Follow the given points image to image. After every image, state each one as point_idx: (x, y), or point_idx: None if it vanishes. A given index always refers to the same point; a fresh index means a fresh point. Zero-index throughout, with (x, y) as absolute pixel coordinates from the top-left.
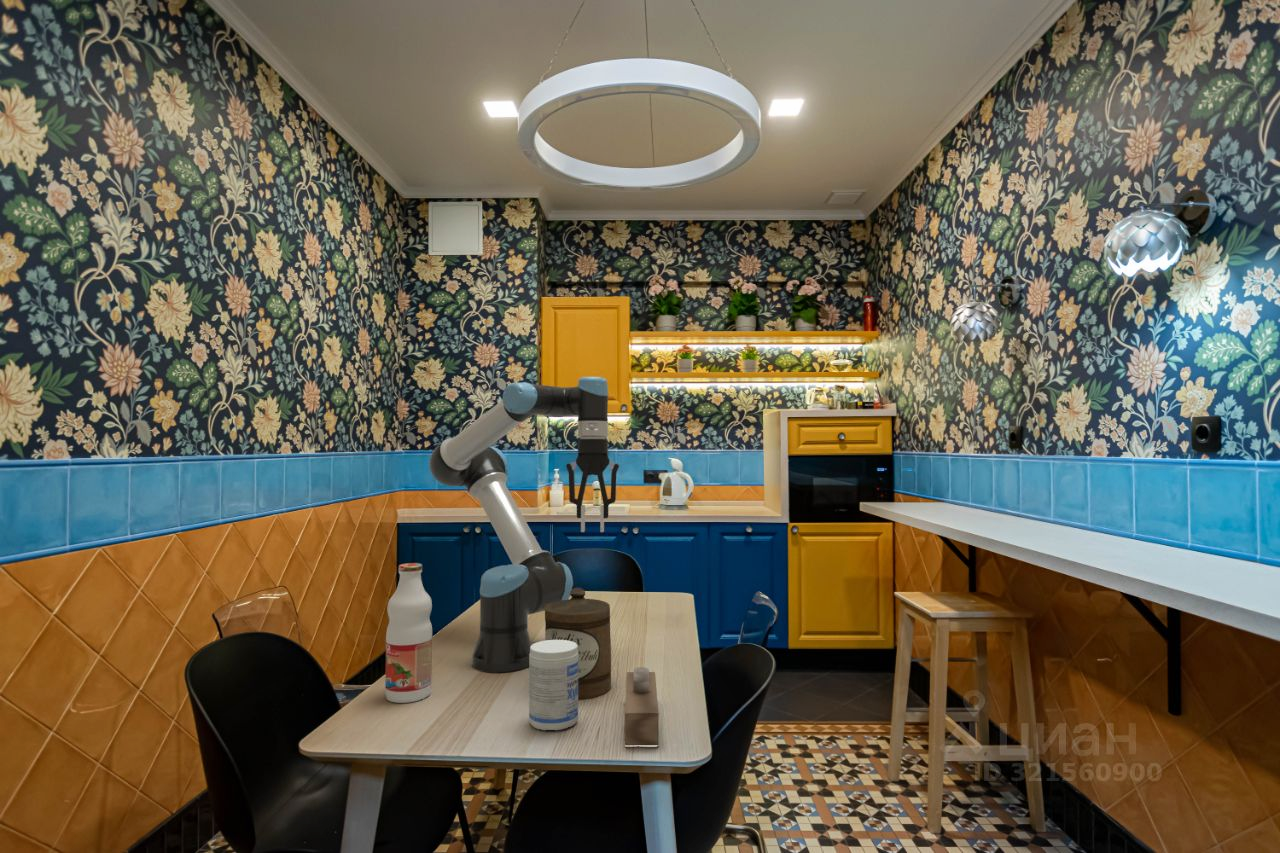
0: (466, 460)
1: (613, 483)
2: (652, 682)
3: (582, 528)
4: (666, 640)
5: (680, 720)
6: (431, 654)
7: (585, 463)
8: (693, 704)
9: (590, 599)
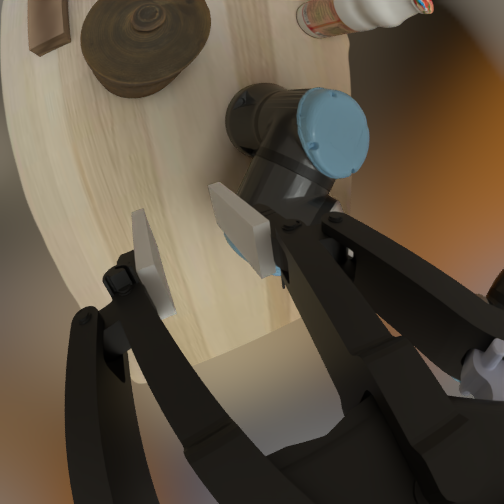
0: None
1: (80, 425)
2: (31, 17)
3: (218, 187)
4: (92, 280)
5: (15, 26)
6: (322, 12)
7: (484, 457)
8: (2, 69)
9: (131, 78)
